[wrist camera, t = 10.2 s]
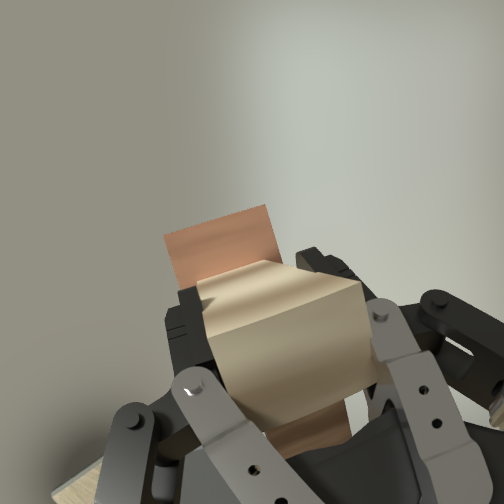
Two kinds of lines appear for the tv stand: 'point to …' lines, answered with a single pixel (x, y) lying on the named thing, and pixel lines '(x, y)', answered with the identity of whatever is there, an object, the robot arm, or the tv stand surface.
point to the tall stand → (312, 431)
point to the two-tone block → (273, 320)
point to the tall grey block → (204, 481)
